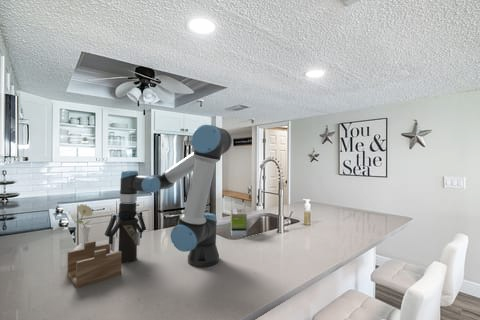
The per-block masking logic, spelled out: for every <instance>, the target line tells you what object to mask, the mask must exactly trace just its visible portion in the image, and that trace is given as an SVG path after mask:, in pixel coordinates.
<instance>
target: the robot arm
mask: <svg viewBox="0 0 480 320" xmlns="http://www.w3.org/2000/svg"><path fill="white" fill-rule="evenodd" d="M232 139H233V138H232V136H231V134H230V133H229V131H227V130H226V129H224V128H221V127H219V126H215V125H212V124H202V125H200V126H198V127H197V128H196V129H194V130H193V132H192V134H191V140H190V141H191V145H192V148H193V152H192V153H190V154H189V155H187V156H186V157H184V158H183V159H181V160H180V161H179V162H177V163H175V164H174V165H172V166H171V167H170V168H168V169H167V170H165V171H164V172H162V173H161V174H154V175H139V171H138V170H132V169H128V170H127V169H125V170H124V169H123V170H122V171H121V174H120V185H119V186H120V188H119V189H120V190H119V205H118V206H119V207H118V213H115V214H113V213H112V214H111V216H110V221H109V222H108V225H107V228H106V230H105V232H104V236H105V237H108V243H109V244H110V252H115V246H116V244H115V243H116V236H115V235H116V234H117V232H118V231H119V227H120V226H121V222H122V221H125V220H126V219H135V218H136V217H137V219H138V223H137V246H138V247H140V245H141V244H140V243H141V239H142V238H143V237H142V236H143V232H144V231H146V230H147V227H146V224H145V222H144V221H145V220H144V218H143V212H142V211H140V210H138V211H137V201H138V198H137V197H138V192H141V193H142V192H143V193H149V194H150V193H156V192H158V191H159V190H161V191H162V190H168V189H171V188H172V187H174V185H175V184H176V182H178V181H180V180H181V179H183V178H184V177H186V176H187V175H189V174H190V173H192V175H191V179H190V184H189V189H188V193H187V196H186V197H187V198H186V202H185V208H184V211H183V213H181V214H180V215H179V217H178V218H179V219H178V222H177V225H175V226H174V227H173V228H172V229H171V230H170V231H171V232H170V241H171V243H172V244H173V247H175V249H176V250H178V251H180V252H184V253H185V252H186V253H187V252H188V255H187V263H188V264H189V265H190V266H193V267H197V268H198V267H199V268H207V267H212V266H215V265H217V264H218V263H219V262H220V253H219V250H218V247H217V223H218V221H217V215H216V214H214V213H211V212H205V211H206V207H207V203H208V198H209V194H210V189H211V186H212V181H213V177H214V172H215V168H216V164H217V163H218V162H220V160H221V157H222V156H223V155H224V154H226V153H227V152H228V151H229V150H230V149H231V146H232V144H233V140H232ZM117 219H118V220H117ZM119 220H121V221H120V222H119ZM116 221H117V222H116ZM115 223H116V224H115Z"/></svg>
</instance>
